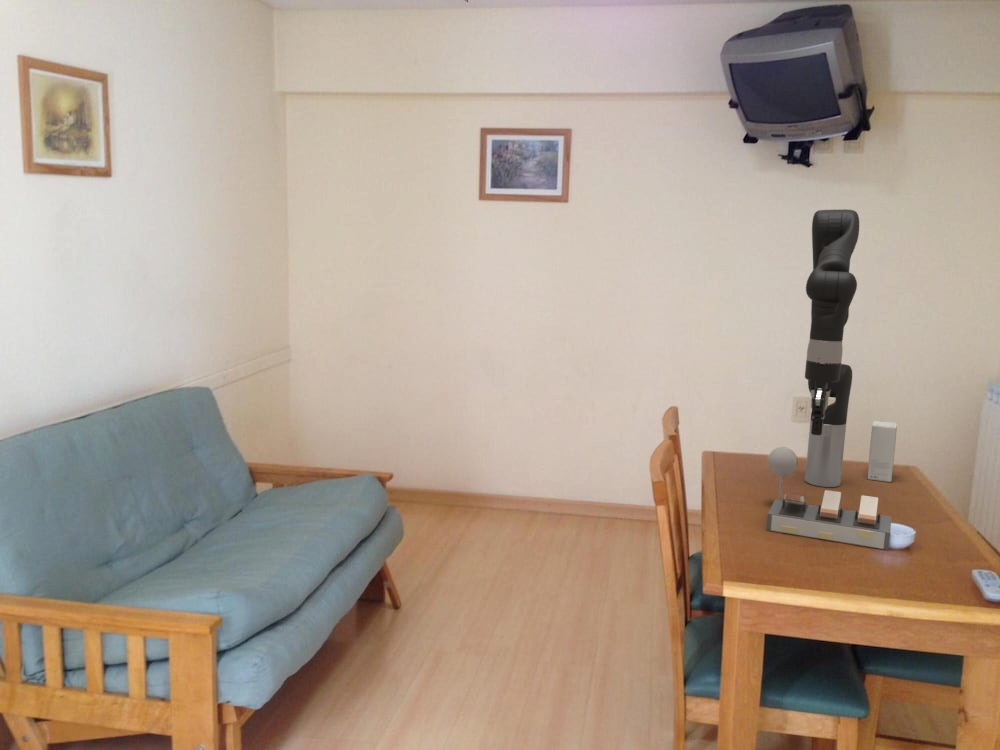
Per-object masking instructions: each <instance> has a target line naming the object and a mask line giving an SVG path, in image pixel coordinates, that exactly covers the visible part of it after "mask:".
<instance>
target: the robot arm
mask: <svg viewBox="0 0 1000 750" xmlns="http://www.w3.org/2000/svg"><path fill="white" fill-rule="evenodd" d="M859 235H860V217H859V214H858V212H857V211H856V210H853V209H820V210H817V211H815V212H814V214H813V217H812V224H811V241H812V242H811V243H812V271H811V273H810V274H809V276H808V278H807V280H806V284H805V285H806V286H805V292H806V295H807V297H808V299H810V300H811V305H810V306H811V308H810V309H811V311H810V314H811V315H810V316H811V317H810V318H811V321H810V322H811V323H810V331H809V341H808V345H807V351H806V359H805V371H804V379H806V380H808V381H807V385H808V390H809V393H810V396H811V400H810V401H811V402H810V408H811V413H810V421H809V432H808V441H807V442H808V444H807V453H806V465H805V475H804V481H805V482H806V483H808V484H810V485H813V486H817V487H824V488H836V487H839V486H841V479H842V471H843V463H844V462H843V461H844V460H843V459H844V452H845V442H846V441H845V440H846V432H847V431H846V429H847V418H848V410H849V403H850V397H851V396H850V395H851V389H852V382H853V370H852V369H853V368H852V367H851V365H849V364H844V363H842V360H843V339H844V330H845V326H846V324H847V322H848V320H849V315H850V305H851V304H852V302H853V299H854V296H856V295H855V294H856V291H857V289H858V288H857V287H858V282H857V281H858V280H857V278H856V276H855V275H854V274H853V273H851V272H850V267H851V266H850V265H851V260H852V259H851V258H852V255H853V252H854V251H855V249H856V246H857V243H858V240H859ZM829 398H833V399H835V401H834V402H833V403H831V404H829Z"/></svg>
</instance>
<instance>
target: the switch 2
mask: <svg viewBox="0 0 1000 750" xmlns="http://www.w3.org/2000/svg"><path fill="white" fill-rule="evenodd" d="M841 497H842V492H841V491H837V490H835V491H834V490H827V489H825V490H824V492H823V498H822V503H821V511H820V516H823V517H830V518H836V519H837V515H838V510H839V509H840V505H841V504H840V503H841Z"/></svg>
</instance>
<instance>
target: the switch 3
mask: <svg viewBox="0 0 1000 750" xmlns="http://www.w3.org/2000/svg"><path fill="white" fill-rule="evenodd" d="M878 504H879V497H876V496H869V495H862V494H861V496H860V504H859V510H858V512H859V515H858V522H862V523H868V524H875V522H876V515H878V514H877V512H878V506H879V505H878Z"/></svg>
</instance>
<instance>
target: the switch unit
mask: <svg viewBox="0 0 1000 750" xmlns="http://www.w3.org/2000/svg"><path fill="white" fill-rule="evenodd" d="M821 506H822V504H818V505H814V504H807V502H805V501H804V503H802V502H796V501H789V500H786V499H785V498H783V499H781V500H778V499H774V501H773V503H772V504H771V507H770V509H769V511H768V513H767V518H766V531H769V532H776V533H781V534H788V535H793V536H794V535H795V536H798V537H799V536H800V537H805V538H811V539H818V540H824V541H831V542H834V543H835V542H836V543H842V544H849V545H853V546H854V545H855V546H859V547H860V546H861V547H867V548H872V549H873V548H874V549H879V550H884V551H889V547H890V539H891V538H890V536H891V529H892V516H889V515H888V516H887V515H881V513H878V514H876V522H875V524H868V523H862V522H858V515H859V510H855V511H853V510H848V509H847V510H846V509H843V507H839V510H838V515H837V519H836V518H830V517H823V516H820V511H821Z"/></svg>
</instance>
